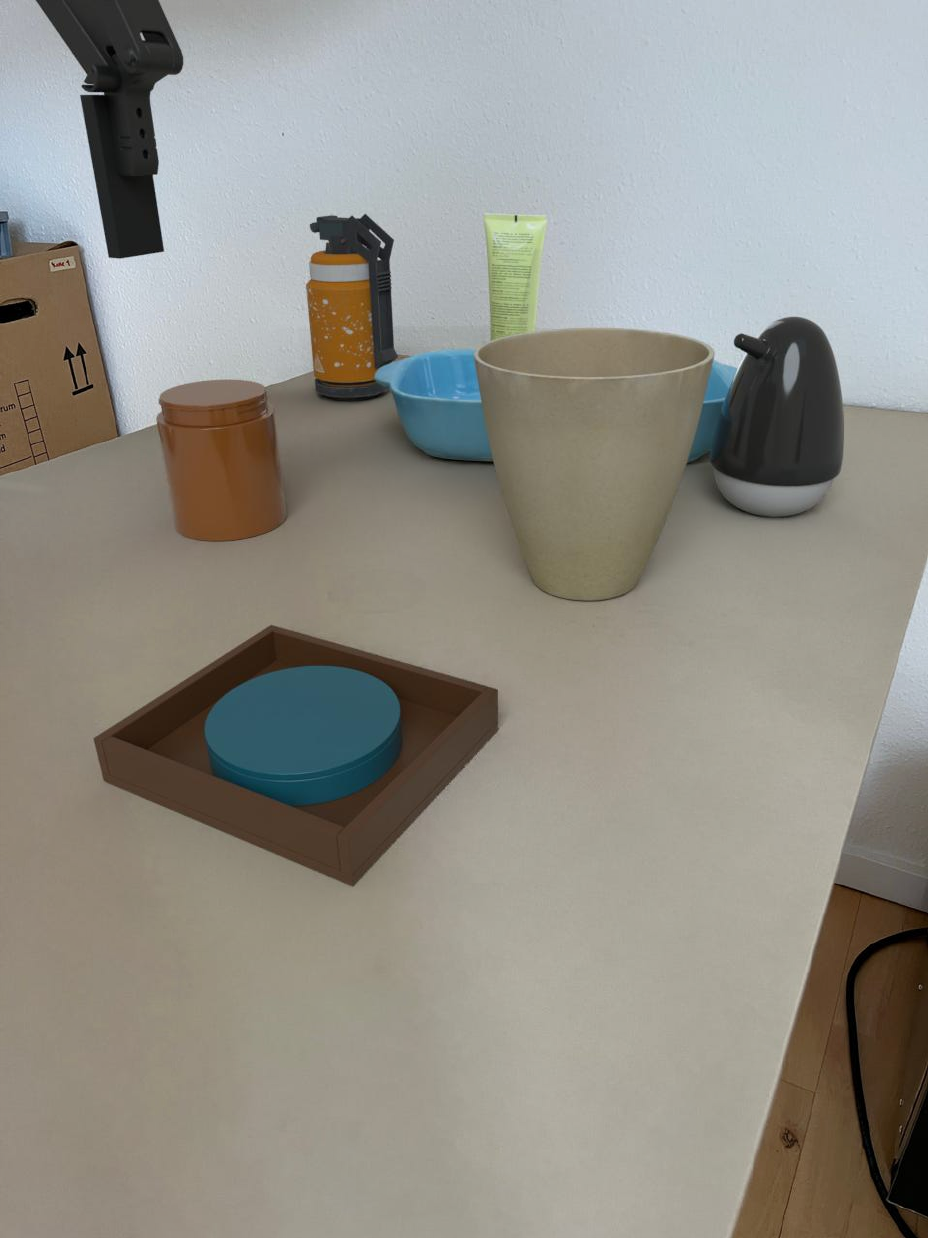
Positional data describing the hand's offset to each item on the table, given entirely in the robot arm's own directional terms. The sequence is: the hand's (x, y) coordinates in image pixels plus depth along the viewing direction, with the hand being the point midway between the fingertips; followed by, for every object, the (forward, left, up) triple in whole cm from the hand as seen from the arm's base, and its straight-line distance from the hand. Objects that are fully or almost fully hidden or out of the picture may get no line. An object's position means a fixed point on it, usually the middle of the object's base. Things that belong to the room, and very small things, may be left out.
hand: (39, 247), depth 47 cm
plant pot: (+20, +23, -24) cm, 39 cm away
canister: (-24, +58, -24) cm, 67 cm away
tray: (+16, -3, -24) cm, 29 cm away
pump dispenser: (+28, +43, -24) cm, 57 cm away
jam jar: (-10, +20, -24) cm, 32 cm away
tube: (-9, +69, -24) cm, 74 cm away
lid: (+16, -3, -21) cm, 27 cm away
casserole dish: (+5, +52, -24) cm, 57 cm away
